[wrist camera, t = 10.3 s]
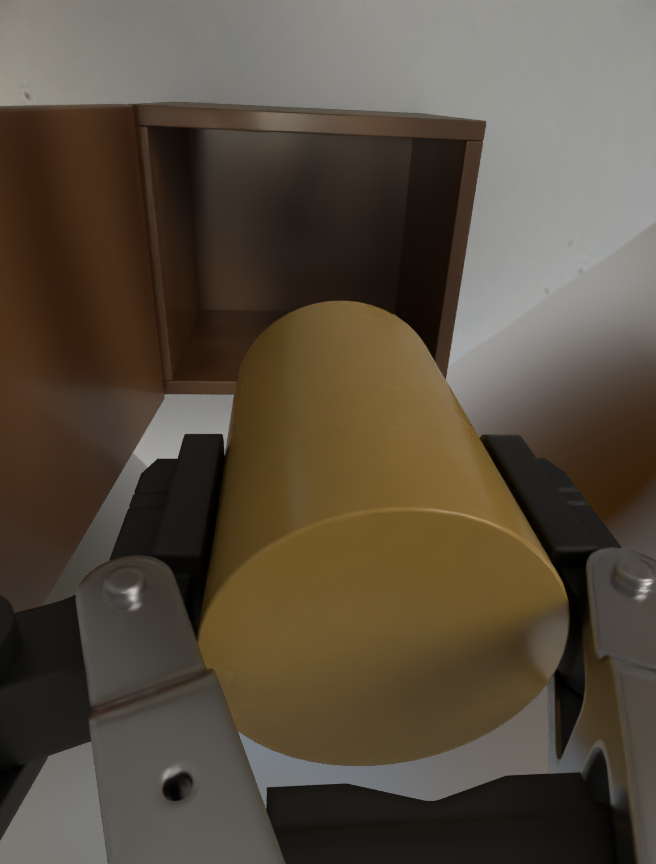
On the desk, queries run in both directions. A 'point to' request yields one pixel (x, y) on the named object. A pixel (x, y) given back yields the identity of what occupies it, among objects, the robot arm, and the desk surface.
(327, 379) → the spice tin
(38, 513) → the lid
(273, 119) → the chest
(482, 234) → the desk surface
